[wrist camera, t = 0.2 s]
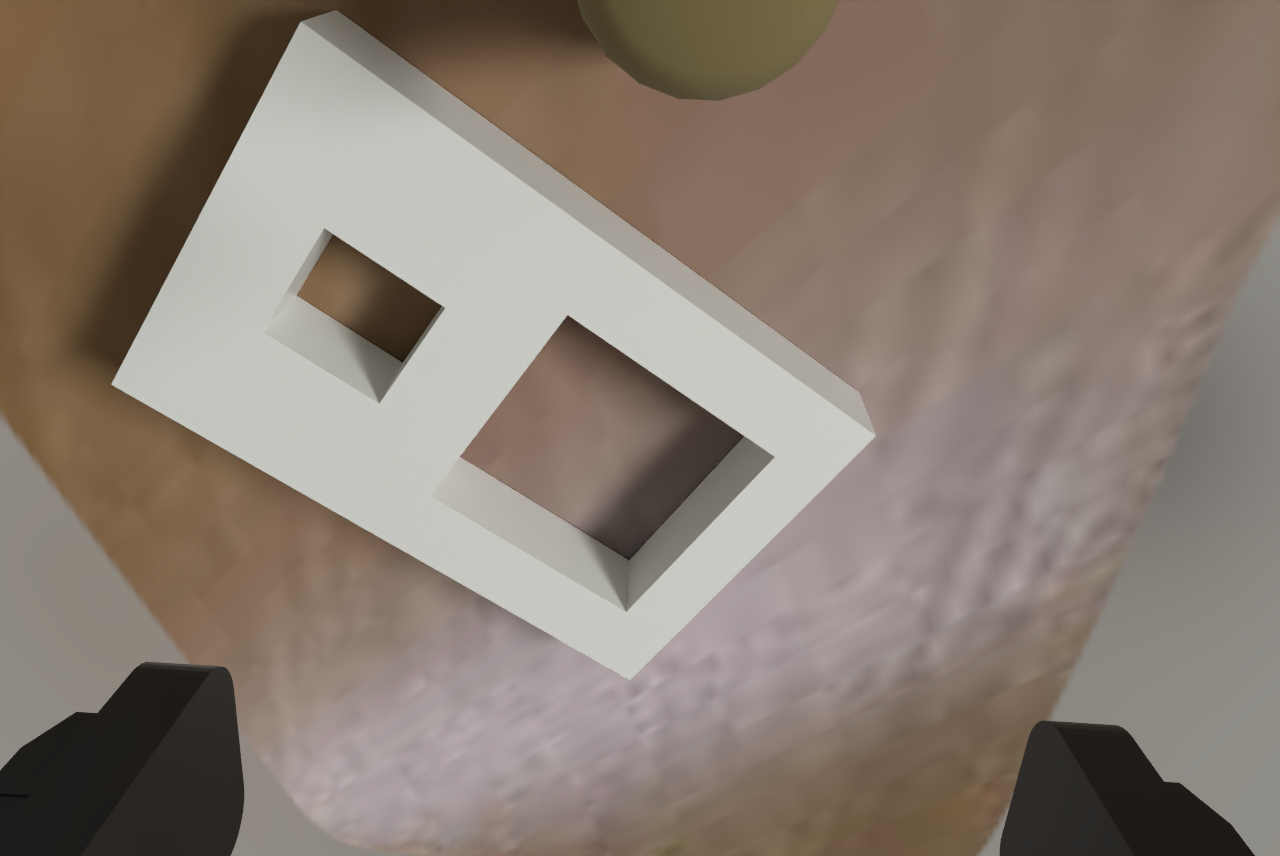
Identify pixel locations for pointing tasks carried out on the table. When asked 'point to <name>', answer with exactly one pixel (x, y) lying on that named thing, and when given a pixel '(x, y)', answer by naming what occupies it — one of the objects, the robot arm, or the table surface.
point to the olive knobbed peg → (706, 41)
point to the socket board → (467, 348)
